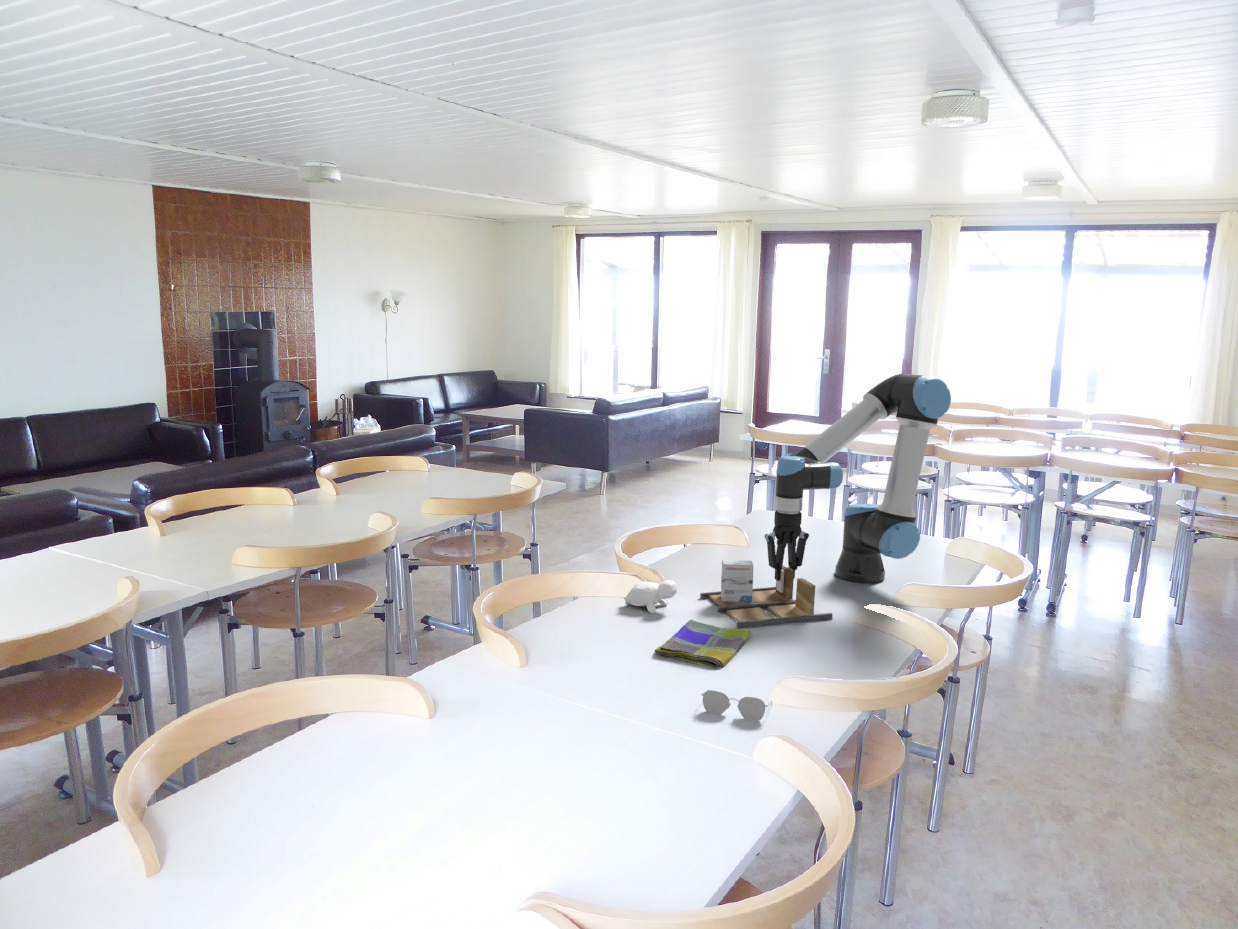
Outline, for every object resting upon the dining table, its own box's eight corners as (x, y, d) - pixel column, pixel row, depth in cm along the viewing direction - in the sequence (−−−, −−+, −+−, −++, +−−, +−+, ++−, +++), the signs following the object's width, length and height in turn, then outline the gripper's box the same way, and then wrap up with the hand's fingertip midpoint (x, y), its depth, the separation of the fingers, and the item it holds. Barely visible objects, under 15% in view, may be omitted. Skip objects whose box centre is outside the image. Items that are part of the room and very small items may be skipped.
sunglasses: (698, 712, 173) (700, 688, 173) (708, 702, 181) (710, 678, 181) (766, 725, 169) (768, 700, 168) (773, 713, 176) (775, 689, 176)
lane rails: (786, 590, 251) (787, 585, 251) (832, 619, 228) (832, 613, 228) (700, 598, 243) (700, 593, 243) (737, 628, 220) (738, 623, 219)
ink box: (750, 599, 242) (751, 559, 240) (752, 605, 237) (753, 564, 235) (720, 598, 242) (721, 559, 240) (721, 604, 237) (722, 564, 235)
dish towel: (754, 638, 214) (755, 628, 214) (720, 672, 193) (721, 661, 193) (690, 625, 222) (691, 615, 222) (651, 657, 201) (651, 646, 201)
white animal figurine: (627, 619, 233) (673, 609, 226) (618, 589, 233) (664, 579, 226) (642, 610, 241) (687, 600, 233) (633, 582, 241) (678, 571, 233)
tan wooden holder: (777, 592, 249) (779, 563, 247) (794, 603, 239) (796, 573, 238) (709, 598, 242) (710, 568, 241) (723, 609, 233) (725, 578, 231)
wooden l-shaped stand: (797, 606, 238) (799, 576, 236) (816, 618, 228) (818, 587, 227) (726, 613, 231) (727, 582, 229) (742, 625, 222) (744, 593, 220)
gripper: (805, 506, 245) (800, 584, 249) (758, 509, 241) (754, 588, 245) (818, 512, 238) (813, 592, 242) (770, 515, 234) (766, 596, 238)
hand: (783, 590), depth 244 cm, fingers open, 2 cm apart
